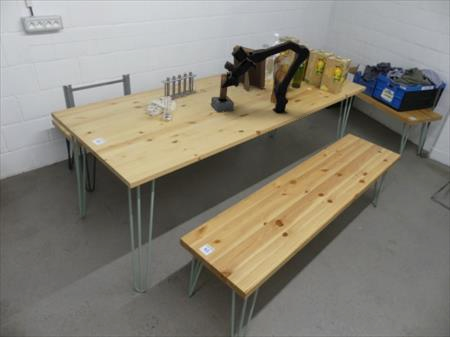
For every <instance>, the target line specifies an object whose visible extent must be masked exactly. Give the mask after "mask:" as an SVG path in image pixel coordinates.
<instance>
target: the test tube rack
mask: <svg viewBox="0 0 450 337" xmlns="http://www.w3.org/2000/svg"><path fill="white" fill-rule="evenodd" d="M192 72H193V71H191V70H190V71H188V73H187V72H184V73H183V75H182V74H180V73H179V74H177V75H178V76H176V75H172V78H170V76H166V79H164V80H161V81H160V82H161V83H163V85H164V97H165V96H170V97H171V98H172V99H171V100H174V99H178V98H181V97H184V96H185V97H186V96H188V95H191V94H194V93H197V90H194V78H195V77H197V76H198V75H197V74H195V73H192ZM187 79H188V89H187ZM182 80H183V81H182ZM176 82H177V93H176ZM170 84H172V91H171V92H172V94H170V88H171V87H170V86H171V85H170ZM182 84H183V89H181V88H182ZM181 90H183V91H181Z"/></svg>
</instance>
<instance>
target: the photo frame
mask: <svg viewBox="0 0 450 337" xmlns="http://www.w3.org/2000/svg"><path fill="white" fill-rule="evenodd" d="M240 46H241V45H234V47H233V49H232V52H233V51H234V50H235V49H237V48H238V47H240ZM242 47H243V49H244V50H245V52H253V51H254V50H255V49H253V48H250V47H245V46H242ZM247 58H248V57H247ZM266 61H267V59H265V60H264V61H262V62H260V63H256V70H255V69H254V68H253V67H252V68H251V69H250V70H249V71H247V72H246V73H245V75H243V76H241V77H240V78H239V80H238V81H239V84H242V85H244V90H245V91H246V92H249V89H250V87H251V88H254V89H255V88H256V89H258V90H261V91H262V90H264V88H265V87H266V86H265V85H266V69H267V68H266V65H267V62H266ZM252 62H253V61H252ZM241 63H242V62H237V60H236V59H235V58H234V57H233V64H234V65H235V66H236V65H239V64H241ZM253 63H255V62H253Z"/></svg>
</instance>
